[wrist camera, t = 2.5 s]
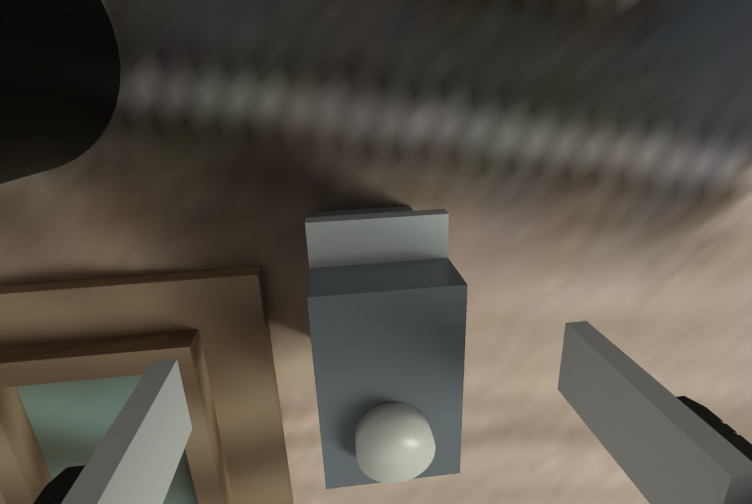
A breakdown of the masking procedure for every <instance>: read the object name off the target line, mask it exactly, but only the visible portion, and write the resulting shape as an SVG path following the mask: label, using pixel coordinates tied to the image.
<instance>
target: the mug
mask: <svg viewBox="0 0 752 504" xmlns="http://www.w3.org/2000/svg"><path fill="white" fill-rule="evenodd" d="M119 86H120V61H119V53H118V47H117V42H116V39H115V35H114V31H113V28H112V24H111V22H110V20H109V17H108V15H107V13H106V10H105V8H104V6H103V4H102V2H101V0H0V184H1V183H5V182H8V181H12V180H15V179H19V178H22V177H26V176H29V175H32V174H36V173H39V172H43V171H46V170H50V169H53V168H56V167H59V166H62V165H64V164H66V163H68V162H70V161H72V160H74V159H76V158H77V157H79V156H80V155H81V154H83V153H84V152H85V151H87V150H88V149H89V148H90V147H91V146H92V145H93V144H94V143H95V142H96V141H97V140H98V139H99V138H100V136H101V135H102V133H103V132H104V130H105V128H106V127H107V125H108V123H109V121H110V119H111V117H112V114H113V112H114V109H115V107H116V103H117V98H118V93H119Z"/></svg>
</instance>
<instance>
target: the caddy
mask: <svg viewBox="0 0 752 504" xmlns="http://www.w3.org/2000/svg"><path fill="white" fill-rule="evenodd" d="M176 359H177V361H178V366H179V370H180V375H181V380H182V384H183V389H184V393H185V398H186V402H187V407H188V411H189V416H190V420H191V425H192V431H191V433H190V436H189V438H188V441H187V443H186V446H185V449H184V451H183V454H182V456H181V459H180V461H179V464H178V466H177V469H176V471H175V474H174V477H173V479H172V482H171V484H170V487H169V489H168V492H167V494H166V497H165V500H164V502H163V504H293V497H292V490H291V483H290V475H289V468H288V461H287V454H286V447H285V439H284V432H283V425H282V418H281V410H280V403H279V396H278V389H277V382H276V374H275V367H274V360H273V353H272V345H271V338H270V331H269V324H268V317H267V309H266V302H265V295H264V288H263V280H262V273H261V267H248V268H234V269H220V270H207V271H193V272H179V273H166V274H152V275H138V276H125V277H111V278H97V279H83V280H70V281H56V282H42V283H29V284H15V285H1V286H0V504H33V503H34V502H35V500H36V499H37V497H38V496H39V495H40V493H41V492H42V490H43V489H44V487H45V486H46V485H47V484H48V483H49V482H50V481H52V480H53V479H54V478H55V477H56V476H57V475H59V474H60V473H61V472H62V471H63V470H64V469H65V468H67V467H73V466H82V465H86V464H87V462H88V461H89V459H90V458H91V456H92V455H93V453H94V452H95V450H96V448H97V447H98V445H99V444H100V442H101V441H102V439H103V438H104V436H105V434H106V433H107V431H108V430H109V428H110V427H111V425H112V424H113V422H114V420H115V419H116V417H117V416H118V414H119V413H120V411H121V410H122V408H123V406H124V405H125V403H126V402H127V400H128V399H129V397H130V396H131V394H132V392H133V391H134V389H135V388H136V386H137V385H138V383H139V382H140V380H141V378H142V377H143V375H144V374H145V372H146V371H147V369H148V368H149V366H150V364H151V363H152V362H155V361H165V360H176Z"/></svg>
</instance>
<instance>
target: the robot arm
mask: <svg viewBox="0 0 752 504" xmlns="http://www.w3.org/2000/svg"><path fill="white" fill-rule="evenodd" d="M558 390H559V391H560V392H561V394H562V395H563V396H564V397H565V399H566V400H567V401H568V402H569V404H570V405H571V406H572V407H573V409H574V410H575V411H576V412H577V413H578V415H579V416H580V417H581V418H582V420H583V421H584V422H585V423H586V425H587V426H588V427H589V428H590V430H591V431H592V432H593V433H594V435H595V436H596V437H597V438H598V440H599V441H600V442H601V443H602V445H603V446H604V447H605V448H606V449H607V451H608V452H609V453H610V454H611V456H612V457H613V458H614V459H615V461H616V462H617V463H618V464H619V466H620V467H621V468H622V469H623V471H624V472H625V473H626V474H627V476H628V477H629V478H630V479H631V481H632V482H633V483H634V484H635V485H636V487H637V488H638V489H639V490H640V492H641V493H642V494H643V495H644V497H645V498H646V499H647V500H648V502H649V503H650V504H752V444H751V443H749V442H748V441H747V440H746V439H744V438H743V437H742V436H741V435H737V433H736V431H734V430H733V429H732V428H731V427H730V426H728V425H727V424H724V423H723V422H722V420H721V419H720V418H718V417H717V416H716V415H715V414H713V413H712V412H711V411H710V410H709V409H707V408H706V407H704V406H703V405H701V404H699V403H697V402H695V401H693V400H691V399H689V398H687V397H685V396H680V397H675V396H674V395H673V394H672V393H671V392H669V391H668V390H667V389H666V388H665V387H663V386H662V385H661V384H660V383H659V382H658V381H656V380H655V379H654V378H653V377H652V376H651V375H649V374H648V373H647V372H646V371H645V370H643V369H642V368H641V367H640V366H639V365H638V364H636V363H635V362H634V361H633V360H632V359H631V358H629V357H628V356H627V355H626V354H625V353H623V352H622V351H621V350H620V349H619V348H618V347H616V346H615V345H614V344H613V343H612V342H610V341H609V340H608V339H607V338H606V337H605V336H603V335H602V334H601V333H600V332H599V331H598V330H596V329H595V328H594V327H593V326H592V325H590V324H589V323H588V322H587V321H582V322H572V323H566V325H565V333H564V342H563V350H562V358H561V366H560V374H559V382H558ZM191 431H192V425H191V420H190V416H189V411H188V407H187V402H186V398H185V393H184V389H183V384H182V380H181V375H180V370H179V366H178V361H177V359H176V360H165V361H155V362H152V363H151V364H150V366H149V368H148V369H147V371H146V372H145V374H144V375H143V377H142V378H141V380H140V382H139V383H138V385H137V386H136V388H135V389H134V391H133V392H132V394H131V396H130V397H129V399H128V400H127V402H126V403H125V405H124V406H123V408H122V410H121V411H120V413H119V414H118V416H117V417H116V419H115V420H114V422H113V424H112V425H111V427H110V428H109V430H108V431H107V433H106V434H105V436H104V438H103V439H102V441H101V442H100V444H99V445H98V447H97V448H96V450H95V452H94V453H93V455H92V456H91V458H90V459H89V461H88V462H87V464H86V465H82V466H73V467H67V468H65V469H64V470H63V471H62V472H61V473H60V474H59V475H57V476H56V477H55V478H54V479H53V480H52V481H50V482H49V483H48V484H47V485H46V486H45V487H44V489H43V490H42V492H41V493H40V495H39V496H38V497H37V499H36V500H35V502H34V503H33V504H163V502H164V500H165V497H166V494H167V492H168V489H169V487H170V484H171V482H172V479H173V477H174V474H175V471H176V469H177V466H178V464H179V461H180V459H181V456H182V454H183V451H184V449H185V446H186V443H187V441H188V438H189V436H190V433H191Z"/></svg>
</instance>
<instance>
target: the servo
mask: <svg viewBox="0 0 752 504" xmlns="http://www.w3.org/2000/svg"><path fill="white" fill-rule="evenodd" d="M305 229H306V239H307V250H308V260H309V278H308V290H307V304H308V314H309V324H310V334H311V344H312V354H313V364H314V374H315V383H316V393H317V403H318V413H319V423H320V433H321V443H322V453H323V462H324V472H325V482H326V489H330V488H338V487H346V486H355V485H363V484H371V483H380V482H383V483H399V482H404V481H407V480H410V479H413V478H421V477H430V476H438V475H446V474H455V473H460V453H461V428H462V404H463V380H464V355H465V331H466V307H467V283H466V282H465V281H464V279H463V278H462V277H461V275H460V274H459V273H458V271H457V270H456V268H455V267H454V266H453V264H452V263H451V262H450V260H449V259H448V232H449V213H448V212H447V211H446V210H445V209H435V210H419V211H413V210H412V208H411V207H410V206H401V207H385V208H370V209H354V210H338V211H322V212H314V217H310V218H306V219H305Z"/></svg>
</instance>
